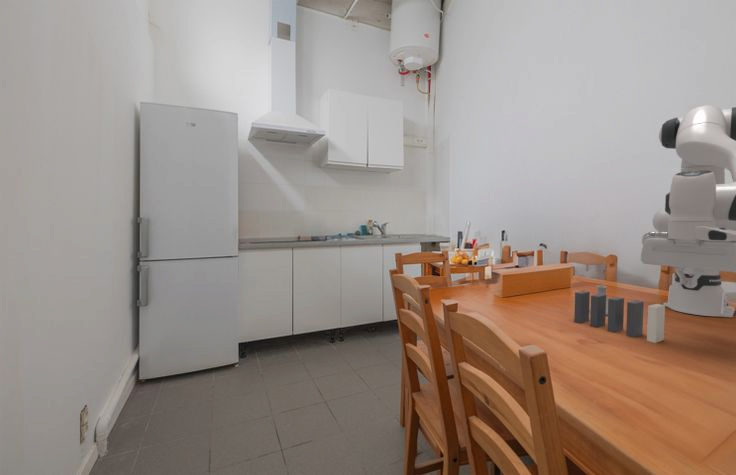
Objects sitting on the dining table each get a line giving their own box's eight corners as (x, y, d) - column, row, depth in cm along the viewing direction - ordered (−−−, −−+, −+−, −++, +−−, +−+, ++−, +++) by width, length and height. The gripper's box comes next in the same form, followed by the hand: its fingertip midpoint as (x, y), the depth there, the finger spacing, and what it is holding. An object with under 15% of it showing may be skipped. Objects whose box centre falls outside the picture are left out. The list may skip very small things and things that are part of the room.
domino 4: (626, 335, 98) (627, 302, 97) (634, 332, 100) (635, 300, 99) (634, 337, 96) (635, 303, 95) (642, 334, 98) (643, 301, 98)
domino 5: (646, 340, 93) (648, 306, 93) (655, 337, 96) (656, 303, 95) (655, 343, 91) (656, 307, 91) (663, 339, 94) (665, 305, 93)
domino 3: (607, 330, 102) (608, 298, 101) (615, 327, 104) (616, 296, 104) (614, 332, 100) (615, 300, 100) (623, 329, 103) (624, 298, 102)
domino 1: (574, 321, 111) (575, 292, 110) (582, 319, 113) (583, 290, 113) (580, 323, 109) (581, 293, 108) (588, 321, 111) (589, 291, 111)
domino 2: (590, 326, 106) (591, 295, 106) (598, 323, 109) (599, 293, 108) (596, 327, 105) (597, 296, 104) (605, 325, 107) (606, 294, 106)
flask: (617, 316, 116) (618, 288, 116) (594, 315, 118) (595, 288, 117) (606, 311, 123) (607, 284, 123) (585, 310, 125) (586, 284, 124)
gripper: (637, 231, 94) (635, 279, 94) (743, 234, 76) (740, 293, 76) (647, 231, 97) (646, 277, 97) (752, 233, 79) (749, 290, 79)
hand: (688, 284), depth 87 cm, fingers closed
